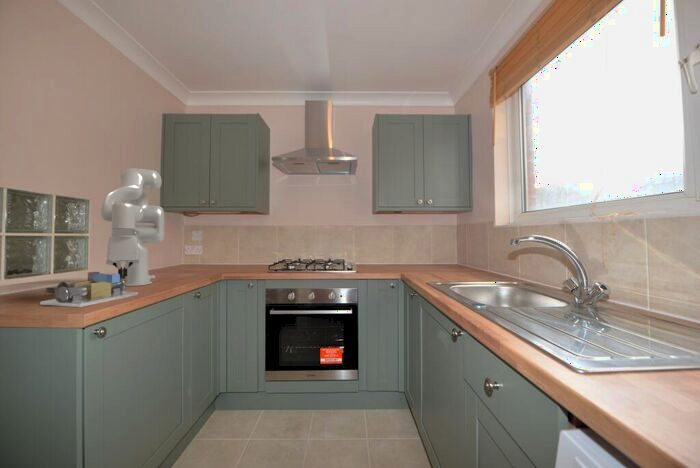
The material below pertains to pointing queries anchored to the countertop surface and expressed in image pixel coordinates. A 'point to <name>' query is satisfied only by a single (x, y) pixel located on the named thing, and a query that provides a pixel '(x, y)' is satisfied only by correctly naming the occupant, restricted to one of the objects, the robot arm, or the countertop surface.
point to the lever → (103, 277)
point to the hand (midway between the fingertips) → (122, 278)
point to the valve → (62, 284)
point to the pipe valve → (88, 294)
